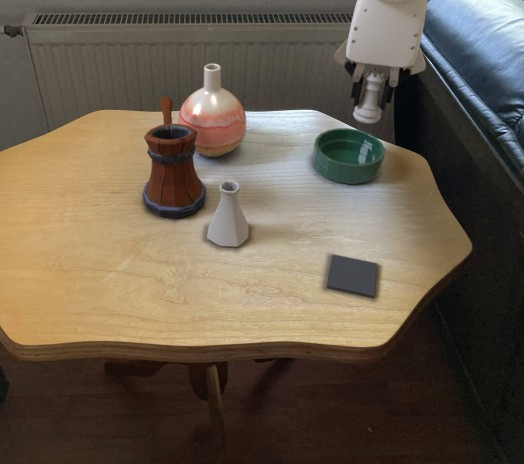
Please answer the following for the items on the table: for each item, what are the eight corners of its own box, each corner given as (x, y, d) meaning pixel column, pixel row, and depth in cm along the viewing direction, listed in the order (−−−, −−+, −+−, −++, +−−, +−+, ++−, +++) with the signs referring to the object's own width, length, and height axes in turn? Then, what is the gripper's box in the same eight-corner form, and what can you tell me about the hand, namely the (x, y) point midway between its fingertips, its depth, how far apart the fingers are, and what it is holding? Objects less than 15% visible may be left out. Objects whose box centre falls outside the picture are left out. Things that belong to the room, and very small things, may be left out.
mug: (140, 163, 101) (133, 93, 91) (198, 159, 103) (197, 89, 93) (144, 222, 88) (135, 148, 78) (210, 217, 89) (210, 143, 79)
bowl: (381, 153, 105) (386, 134, 102) (377, 191, 95) (383, 171, 92) (316, 142, 107) (319, 124, 104) (307, 178, 98) (310, 159, 95)
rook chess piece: (379, 112, 85) (390, 66, 80) (381, 126, 82) (392, 78, 76) (352, 110, 86) (361, 63, 80) (352, 123, 82) (362, 76, 77)
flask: (199, 241, 85) (199, 193, 78) (216, 215, 90) (216, 168, 83) (240, 253, 83) (243, 205, 76) (255, 225, 88) (259, 178, 81)
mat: (376, 265, 81) (377, 263, 81) (373, 298, 76) (374, 295, 76) (332, 256, 82) (332, 254, 82) (326, 288, 77) (327, 285, 77)
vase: (248, 166, 101) (254, 82, 89) (179, 168, 100) (175, 84, 88) (241, 130, 111) (245, 50, 99) (178, 132, 110) (174, 52, 98)
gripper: (459, -21, 71) (423, 101, 83) (338, -31, 74) (321, 87, 86) (462, -5, 65) (423, 123, 78) (331, -16, 69) (314, 107, 81)
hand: (369, 103), depth 82 cm, fingers closed on rook chess piece, 3 cm apart
